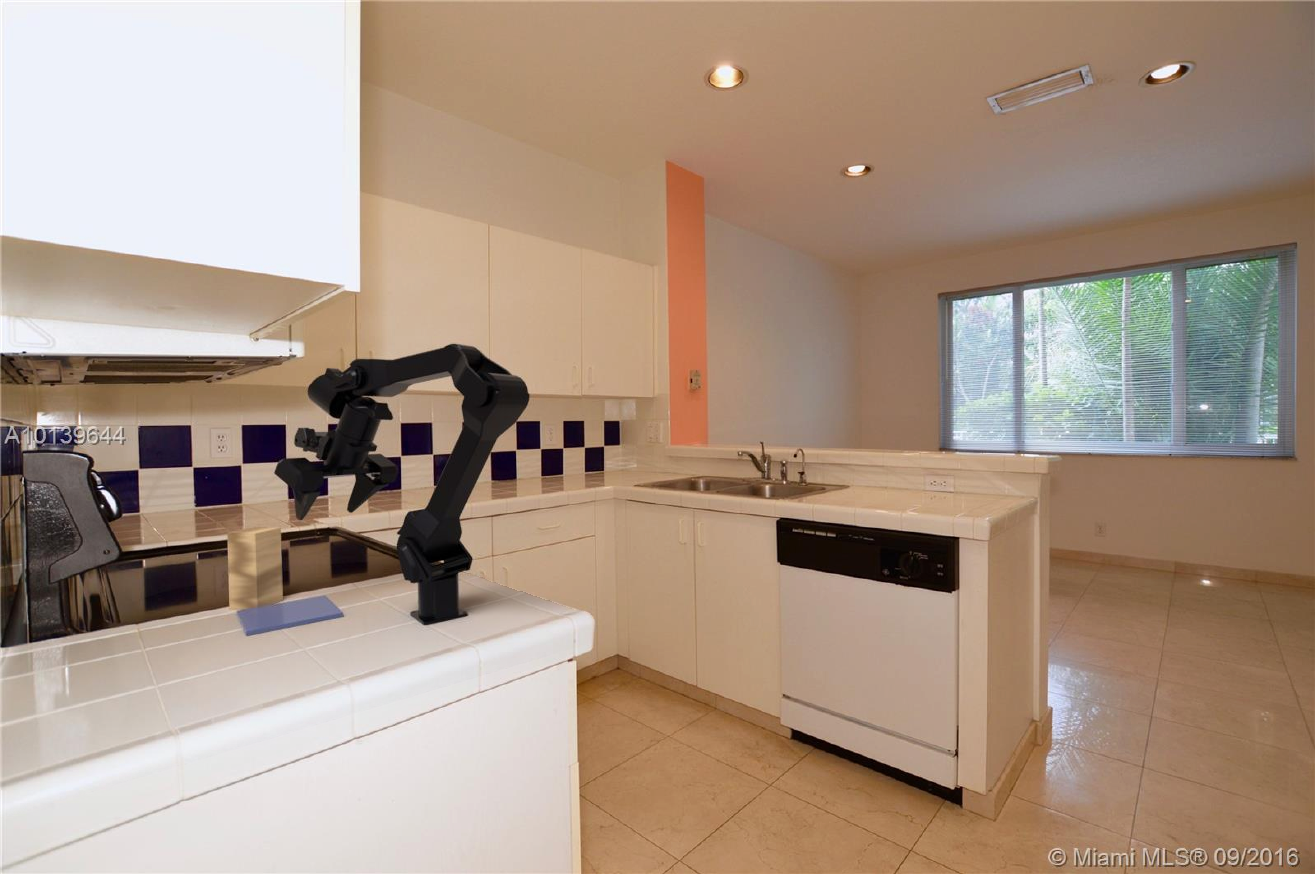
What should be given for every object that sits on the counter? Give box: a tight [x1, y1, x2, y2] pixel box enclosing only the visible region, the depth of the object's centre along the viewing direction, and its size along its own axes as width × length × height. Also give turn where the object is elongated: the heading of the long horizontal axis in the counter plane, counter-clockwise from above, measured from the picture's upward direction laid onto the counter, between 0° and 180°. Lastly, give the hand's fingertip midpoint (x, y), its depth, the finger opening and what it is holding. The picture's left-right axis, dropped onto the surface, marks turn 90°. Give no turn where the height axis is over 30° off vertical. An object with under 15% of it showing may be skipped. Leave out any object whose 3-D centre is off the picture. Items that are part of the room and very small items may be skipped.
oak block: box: [226, 526, 284, 610], centre depth 96 cm, size 5×5×12 cm
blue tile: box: [236, 594, 344, 636], centre depth 90 cm, size 12×12×1 cm
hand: (325, 515), depth 100 cm, fingers open, 9 cm apart
